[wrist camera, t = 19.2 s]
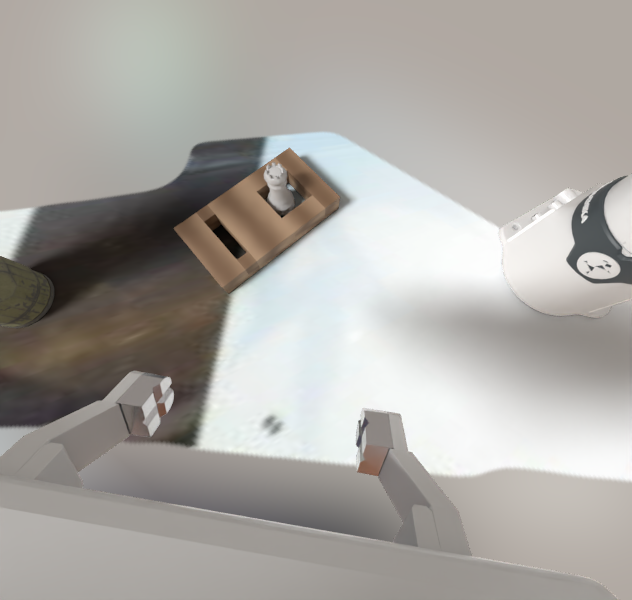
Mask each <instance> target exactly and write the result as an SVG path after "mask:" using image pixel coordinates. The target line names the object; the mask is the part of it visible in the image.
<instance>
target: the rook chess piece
mask: <svg viewBox="0 0 632 600" xmlns="http://www.w3.org/2000/svg"><path fill="white" fill-rule="evenodd" d="M266 168H267V169H266V170H265V172H264V179H265V181H266V182H267V185H268V187H269V188H270V192H269V194H268V197H267V203H268V204H269V205H270V206H271V207H272V208H273V210H274V211H275V212H276V213H277V214H278V215H279V216H282V215H287V214H288V213H289V212H291V211H292V210H293V209H294V206H295V199H294V196H293V194H292V193H291V191H290V190H288V189H287V187H286V184H287V180H286V178H287V171H286V170H285V168H283V167H282V165H281V164H280V163H278V165H276V164H275V162H272V165H271V166H270V165H269V164H268V165H267V166H266Z"/></svg>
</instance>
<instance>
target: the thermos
mask: <svg viewBox="0 0 632 600" xmlns="http://www.w3.org/2000/svg"><path fill="white" fill-rule="evenodd" d="M53 299H54V286H53V284H52V281H51V280H50V279H49V278H48V277H47V276H46V275H44V274H42V273H40V272H37V271H34V270H31V269H30V268H29V267H27V266H24V265H22V264H20V263H17V262H14V261H12V260H9V259H7V258H4V257H1V256H0V326H3V327H10V328H21V327H26V326H29V325H31V324H33V323H35V322H37V321H38V320H39V319H40V318H42V317H43V316H44V315H45V314H46V313H47V311H48V310H49V308H50V307H51V305H52V302H53Z"/></svg>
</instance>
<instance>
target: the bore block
mask: <svg viewBox="0 0 632 600" xmlns="http://www.w3.org/2000/svg"><path fill="white" fill-rule="evenodd" d="M272 162H275V164H276V165H278V163H280V164H281V165H282V167H283V168H285V170H286V171H287V178H286V180H287V184H288V183H289V184H290V185H291V186H292V187H293V188H294V189H295V190H296V191H297V192H298V193H299V194H300V195H301V196H302V197H303V198H304V199H305V201H304V202H303V203H301V204H300V205H299V206H297V207H296V208H295V209H293V210H292V211H291V212H289V213H288V214H287V215H285V216H284V217H283V218H281V217H280V216H279V215H278V214H277V213H276V212H275V211H274V210H273V208H272V207H271V206H270V205H269V204H268V203H267V202H266V201H265V200H266V199H267V197H268V194H269V192H270V188H269V187H268V185H267V182H266V181H265V179H264V172H265V170H266V169H267V168H266V166H267V165H268V164H269V165H270V166H271V165H272ZM339 201H340V196H339V195H338V194H337V193H336V192H335V191H334V190H332V189H331V188H330V187H329V186H328V185H327V184H326V183H325V182H324V181H323V180H322V179H321V178H320V177H319V176H318V175H317V174H316V173H315V172H314V171H313V170H312V169H311V168H310V167H309V166H308V165H307V164H306V163H305V162H304V161H303V160H302V159H301V158H300V157H299V156H298V155H297V154H295V153H294V152H293V151H292V150H291V149H290V148H288V149H287V150H285V151H284V152H283V153H281V154H280V155H278V156H277V157H275V158H274V159H272V160H271V161H270V162H268V163H267V164H265V165H264V166H262V167H261V168H260V169H258V170H257V171H255V172H254V173H252V174H251V175H249V176H248V177H247V178H245V179H244V180H242V181H241V182H239V183H238V184H237V185H235V186H234V187H232V188H231V189H229V190H228V191H226V192H225V193H224V194H222V195H221V196H219V197H218V198H216V199H215V200H214V201H212V202H211V203H209V204H208V205H206V206H205V207H203V208H202V209H201V210H199V211H198V212H196V213H195V214H193V215H192V216H191V217H189V218H188V219H186V220H185V221H183V222H182V223H180V224H179V225H178V226H176V227H175V228H173V229H174V230H175V231H176V232H177V233H178V235H179V236H180V237H181V238H182V240H183V241H184V242H185V243H186V244H187V246H188V247H189V248H190V249H191V250H192V252H193V253H194V254H195V255H196V256H197V258H198V259H199V260H200V261H201V263H202V264H203V265H204V266H205V267H206V269H207V270H208V271H209V272H210V273H211V275H212V276H213V277H214V278H215V279H216V281H217V282H218V283H219V284H220V285H221V287H222V288H223V289H224V290H225V291H226V292H227V293H228V294H229V293H230V292H232V291H233V290H234V289H236V288H237V287H238V286H239V285H241V284H242V283H243V282H245V281H246V280H247V279H248V278H250V277H251V276H252V275H254V274H255V273H256V272H257V271H259V270H260V269H261V268H263V267H264V266H265V265H266V264H268V263H269V262H270V261H272V260H273V259H274V258H275V257H277V256H278V255H279V254H281V253H282V252H283V251H284V250H286V249H287V248H288V247H290V246H291V245H292V244H293V243H295V242H296V241H297V240H298V239H300V238H301V237H302V236H304V235H305V234H306V233H307V232H309V231H310V230H311V229H313V228H314V227H315V226H316V225H318V224H319V223H320V222H322V221H323V220H324V219H325V218H327V217H328V216H329V215H331V214H332V213H333V212H334V211H336V210H337V209H338V208H339ZM221 224H222V226H223V227H224V228H225V229H226V230H227V231H228V232H229V234H230V235H231V236H232V237H233V238H234V239H235V240H236V242H237V243H238V244H239V245H240V246H241V247H242V248H243V249H244V251H245V252H246V253H245V254H244V255H243V256H241V257H240V258H239V259H236V258H235V257H234V256H233V255H232V254H231V252H230V251H229V250H228V249H227V248H226V247H225V245H224V244H223V243H222V242H221V241H220V240H219V239H218V237H217V236H216V235H215V234H214V233H213V232H212V231H213V230H214V229H216V228H217V227H219V226H220V225H221Z"/></svg>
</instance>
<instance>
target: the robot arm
mask: <svg viewBox="0 0 632 600" xmlns="http://www.w3.org/2000/svg"><path fill="white" fill-rule="evenodd" d="M513 228H514V229H515V230H514V229H513ZM498 233H499V238H500V241H501V244H502V246H503V253H502V268H503V273H504V276H505V279H506V281H507V283H508V285H509V286H510V288H511V289H512V291H513V292H514V293H515V294H516V296H517V297H518V298H519V299H520V300H522V301H523V302H524V303H525V304H527V305H528V306H530V307H531V308H533V309H535V310H537V311H539V312H542V313H545V314H548V315H554V316H568V315H577V314H578V315H583V316H587V317H591V318H600V317H603V316H606V315H607V314H608V313H609V311H610V309H611V307H612V306H613V305H616V304H619V303H622V302H626V301H629V300H632V174H630V175H629V176H624V177H621V178H618V179H616V180H614V181H612V182H609V183H607V184H606V183H601V184H597V185H596V186H594V187H592V188H590V189H589V190H587V191H586V192H584V193H583V192H581V191H577V190H573V189H571V188H567V189H566V190H564V191H563V192H561V193H560V194H558V195H556V196H554V197H553V198H551V199H549V200H547V201H546V202H544V203H542V204H540V205H539V206H537V207H535V208H534V209H532V210H530V211H528V212H527V213H525V214H523V215H521V216H520V217H518V218H516V219H515V220H513V221H511V222H509V223H508V224H506V225H504V226H502V227H501V228H500V229H499V232H498ZM170 385H171V379H170V377H166V376H160V375H155V374H150V373H144V372H138V371H132V372H130V373H128V374H127V376H126V377H125V378H124V379H123V380H122V381H121V382H120V383H119V384H118V385H117V386H116V387H115V388H114V389H113V390H112V391H111V392H110V393H109V394H108V395H107V396H106V397H105V398H104V400H103V401H96V402H94V403H92V404H90V405H88V406H86V407H84V408H82V409H80V410H78V411H75V412H73V413H71V414H69V415H67V416H65V417H63V418H61V419H59V420H57V421H54V422H52V423H50V424H48V425H46V426H44V427H42V428H40V429H38V430H36V431H34V432H31V433H30V434H27V435H25V436H23V437H22V438H21V439H20V440H19V441H18V442H16V443H15V444H14V445H13V446H12V447H11V448H10V449H9V450H8V451H6V452H5V453H4V454H3V455H2V456H1V457H0V600H619V599H618V598H617V597H616V596H615V595H614V594H613V593H612V592H610V590H608V589H607V588H606V587H605V586H604V585H603V584H601V583H600V582H598V581H596V580H594V579H592V578H588V577H585V576H581V575H575V574H570V573H563V572H558V571H552V570H547V569H541V568H535V567H529V566H523V565H518V564H512V563H506V562H501V561H495V560H489V559H484V558H478V557H473V556H472V555H471V551H470V548H469V545H468V541H467V538H466V535H465V531H464V528H463V525H462V521H461V518H460V515H459V511H458V510H457V509H456V507H455V506H454V505H453V503H451V501H450V500H449V499H448V497H447V496H446V495H445V494H444V492H443V491H442V490H441V488H440V487H439V486H438V485H437V483H436V482H435V481H434V480H433V478H432V477H431V476H430V475H429V473H428V472H427V471H426V469H425V468H424V467H423V466H422V464H421V463H420V462H419V461H418V459H417V458H416V457H415V456H414V454H413V453H412V452H408V448H407V443H406V438H405V433H404V428H403V423H402V418H401V415H400V414H398V413H392V412H386V411H380V410H373V409H367V408H363V409H362V411H361V420H359V421H358V425H357V431H356V445H357V447H358V448H359V449H358V452H357V455H356V459H357V472H359V473H364V474H369V475H374V476H379V477H378V478H379V480H380V482H381V483H382V485H383V487H384V489H385V491H386V493H387V495H388V496H389V498H390V500H391V502H392V504H393V505H394V507H395V509H396V511H397V513H398V515H399V517H400V518H401V520H402V522H403V524H402V526H401V527H400V529H399V531H398V533H397V534H396V536H395V538H394V540H393V541H394V543H392V542H387V541H381V540H375V539H369V538H364V537H358V536H352V535H346V534H341V533H335V532H330V531H324V530H318V529H312V528H307V527H301V526H296V525H289V524H284V523H278V522H272V521H267V520H261V519H256V518H250V517H244V516H239V515H233V514H227V513H222V512H216V511H210V510H204V509H199V508H193V507H187V506H182V505H176V504H170V503H165V502H159V501H153V500H147V499H141V498H136V497H130V496H124V495H119V494H113V493H107V492H102V491H96V490H90V489H84V488H82V487H83V480H82V479H81V477H80V475H79V473H78V472H79V471H81V470H82V469H83V468H85V467H86V466H88V465H89V464H91V463H92V462H93V461H95V460H96V459H98V458H99V457H100V456H102V455H103V454H105V453H106V452H108V451H109V450H110V449H112V448H113V447H114V446H116V445H117V444H119V443H120V442H122V441H123V440H124V439H126V438H127V437H129V436H130V435H137V436H144V437H151V436H152V435H153V433H154V432H155V430H156V429H157V427H158V426H159V424H160V417H162V416H163V415H165V414H167V412H168V411H169V409H170V408H171V405H172V403H173V398H174V393H173V390H172V389H171V388H170V387H169V386H170ZM129 434H130V435H129Z"/></svg>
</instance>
